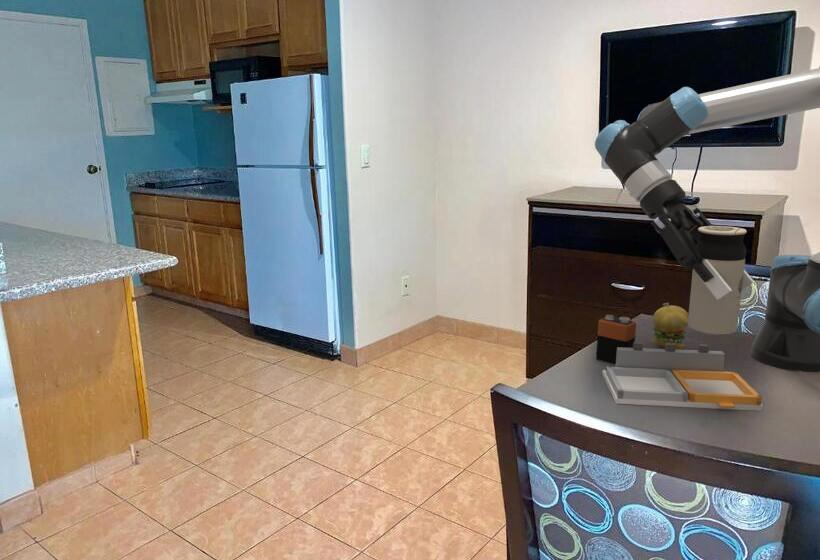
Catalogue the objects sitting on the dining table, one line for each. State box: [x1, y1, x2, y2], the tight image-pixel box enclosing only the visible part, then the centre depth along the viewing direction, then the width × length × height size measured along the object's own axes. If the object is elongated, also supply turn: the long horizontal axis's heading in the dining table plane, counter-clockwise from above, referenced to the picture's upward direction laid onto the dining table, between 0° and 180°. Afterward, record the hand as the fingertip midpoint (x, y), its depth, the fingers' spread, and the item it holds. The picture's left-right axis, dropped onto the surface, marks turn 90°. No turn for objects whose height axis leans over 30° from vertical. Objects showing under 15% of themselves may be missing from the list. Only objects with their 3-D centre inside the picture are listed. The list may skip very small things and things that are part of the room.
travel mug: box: [687, 225, 748, 336], centre depth 105 cm, size 8×8×18 cm
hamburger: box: [652, 302, 689, 350], centre depth 134 cm, size 8×7×12 cm
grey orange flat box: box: [601, 341, 764, 412], centre depth 113 cm, size 25×15×7 cm, turn 82°
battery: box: [595, 314, 637, 365], centre depth 130 cm, size 4×7×10 cm, turn 46°
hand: (736, 290), depth 103 cm, fingers closed on travel mug, 8 cm apart
